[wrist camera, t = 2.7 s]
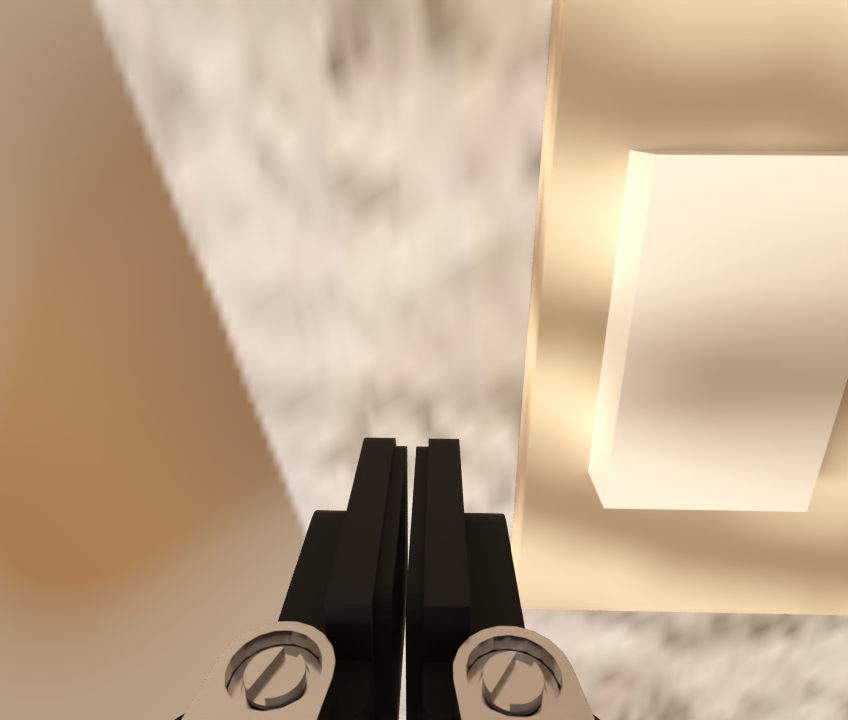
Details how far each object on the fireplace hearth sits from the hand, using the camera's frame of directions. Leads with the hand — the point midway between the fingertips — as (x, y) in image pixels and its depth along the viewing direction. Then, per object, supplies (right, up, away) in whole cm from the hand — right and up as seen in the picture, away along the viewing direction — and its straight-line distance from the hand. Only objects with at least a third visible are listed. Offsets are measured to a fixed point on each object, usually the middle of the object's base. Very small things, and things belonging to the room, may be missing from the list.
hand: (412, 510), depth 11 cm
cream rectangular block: (+9, +4, +7) cm, 12 cm away
